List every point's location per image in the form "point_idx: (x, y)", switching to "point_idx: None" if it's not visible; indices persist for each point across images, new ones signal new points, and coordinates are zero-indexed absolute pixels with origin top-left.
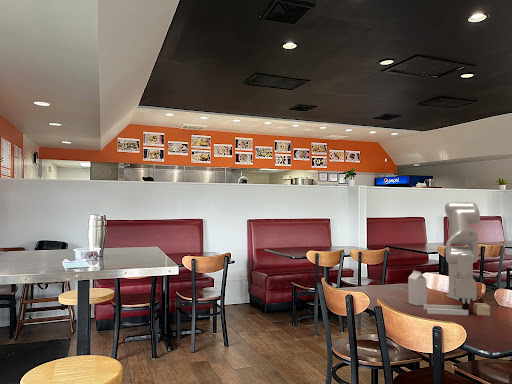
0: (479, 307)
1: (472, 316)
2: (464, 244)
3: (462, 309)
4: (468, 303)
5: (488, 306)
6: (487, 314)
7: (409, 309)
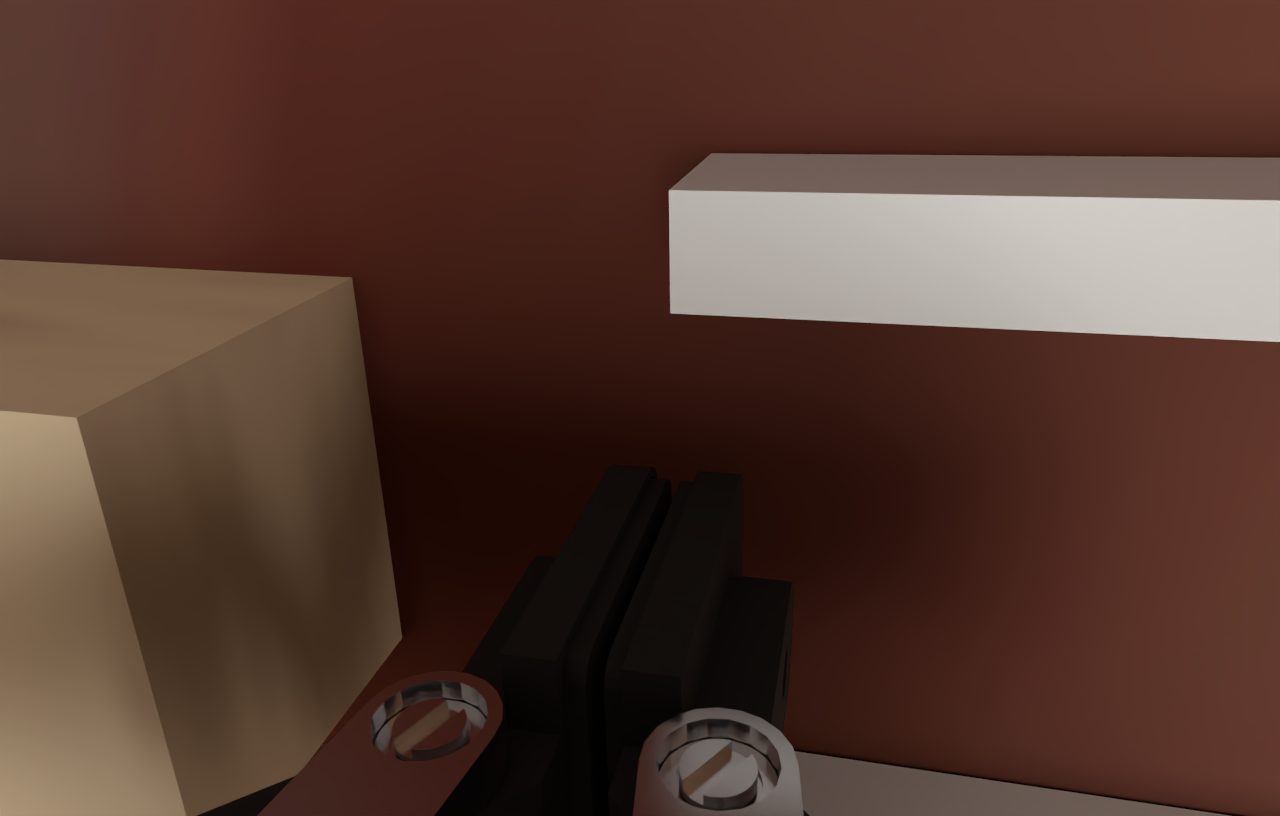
0: (57, 375)
1: (583, 8)
2: None
3: None
4: (453, 702)
5: None
6: (25, 271)
7: None
